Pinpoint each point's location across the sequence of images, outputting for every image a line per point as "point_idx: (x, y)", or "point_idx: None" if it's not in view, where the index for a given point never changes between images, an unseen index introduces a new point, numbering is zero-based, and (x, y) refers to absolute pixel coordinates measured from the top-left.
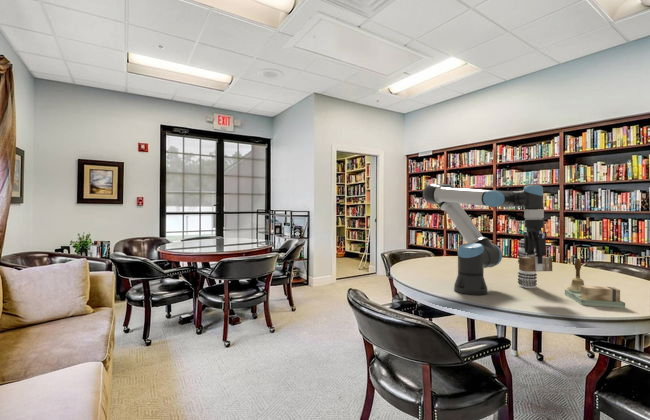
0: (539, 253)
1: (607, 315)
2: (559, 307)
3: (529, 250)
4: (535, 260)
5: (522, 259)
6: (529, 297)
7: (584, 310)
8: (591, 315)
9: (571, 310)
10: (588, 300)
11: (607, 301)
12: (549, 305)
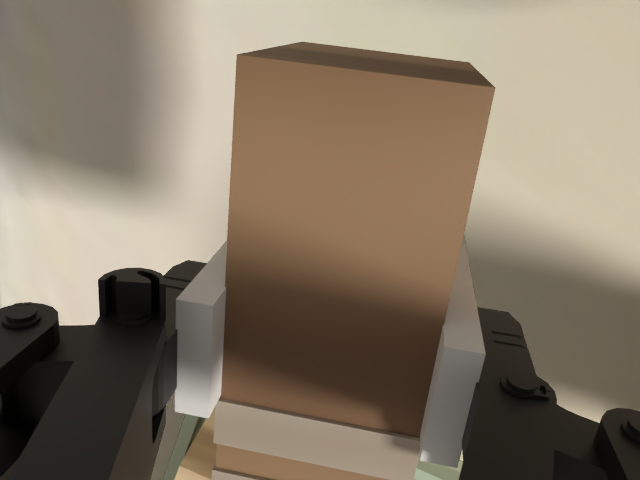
0: (8, 326)
1: None
2: (149, 157)
3: (467, 445)
4: None
5: (338, 64)
6: None
7: (97, 267)
8: (4, 223)
9: (89, 185)
10: None
11: (165, 478)
12: (194, 120)
